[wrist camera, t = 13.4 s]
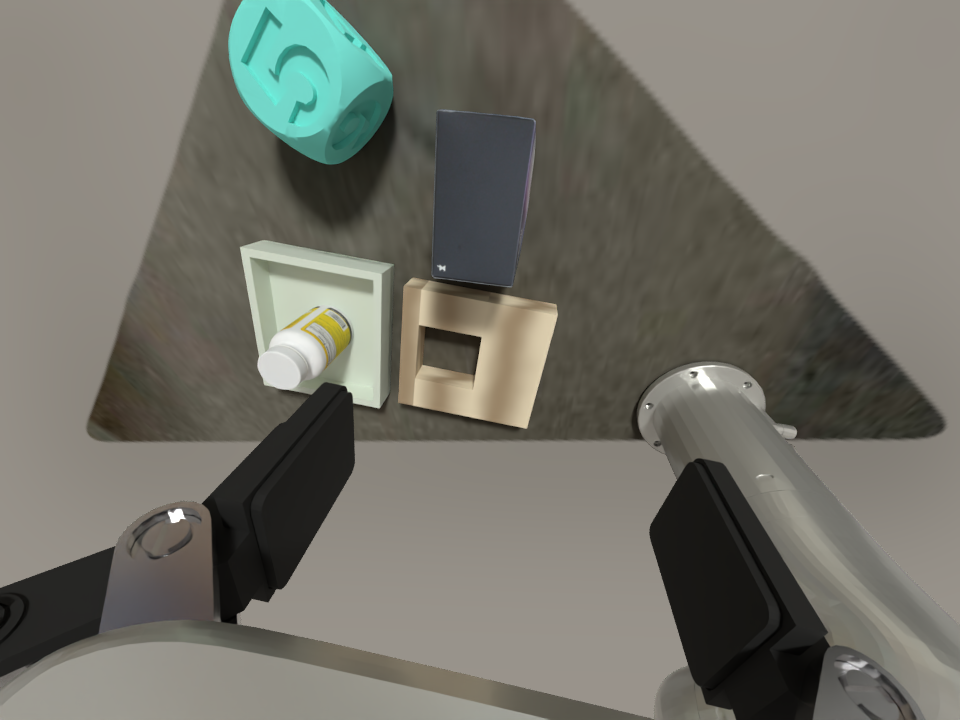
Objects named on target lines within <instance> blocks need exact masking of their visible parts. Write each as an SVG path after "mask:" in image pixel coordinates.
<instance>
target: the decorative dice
mask: <svg viewBox="0 0 960 720" xmlns="http://www.w3.org/2000/svg"><path fill="white" fill-rule="evenodd" d="M228 46H229V60H230V65H231V70H232V75H233V78H234V81H235V84H236V87H237V90H238V92H239V94H240V97H241V98H242V100H243V102H244V103H245V105H246V106H247V107H248V109H249V110H250V111H251V112H252V113H253V114H254V116H255V117H256V118H257V119H258V120H259V121H260V122H261V123H262V124H263V125H265V126H266V127H267V128H268V129H269V130H270V131H271V132H272V133H274V134H275V135H276V136H277V137H279V138H280V139H281V140H283V141H284V142H285V143H287V144H288V145H289V146H291V147H292V148H294V149H295V150H297V151H299V152H300V153H302V154H304V155H305V156H307V157H309V158H311V159H313V160H316V161H318V162H321V163H324V164H339V163H342V162H344V161H346V160H347V159H349V158H351V157H352V156H353V155H355V154H356V153H357V152H358V151H359V150H360V149H361V148H362V147H363V146H364V145H365V144H366V143H367V142H368V141H369V140H370V139H371V138H372V136H373V135H374V134H375V132H376V131H377V130H378V128H379V127H380V125H381V124H382V122H383V120H384V119H385V117H386V115H387V113H388V110H389V108H390V105H391V102H392V98H393V82H392V75H391V73H390V71H389V69H388V68H387V67H386V65H385V64H384V63H383V61H382V60H381V59H380V57H379V56H378V55H377V54H376V53H375V51H374V50H373V49H372V48H371V47H370V46H369V45H368V43H367V42H366V41H365V40H364V39H363V38H362V37H361V36H360V35H359V33H358V32H357V31H356V30H355V29H354V28H353V27H352V26H351V25H350V24H349V23H348V22H347V21H346V20H345V19H344V18H343V17H342V16H341V15H340V14H339V13H338V12H337V11H336V10H335V9H334V8H333V7H332V6H331V5H330V4H329V3H328V2H327V1H326V0H243V1H242V3H241V4H240V6H239V8H238V9H237V12H236V14H235V16H234V18H233V21H232V24H231V28H230V33H229V42H228Z"/></svg>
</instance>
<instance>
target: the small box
mask: <svg viewBox="0 0 960 720" xmlns="http://www.w3.org/2000/svg"><path fill="white" fill-rule="evenodd" d="M535 141H536V121H535V120H534V119H531V118H523V117H517V116H506V115H497V114H486V113H475V112H465V111H454V110H445V109H442V110H438V111H437V119H436V146H435V178H434V212H433V242H432V277H433V278H436V279H446V280H454V281H461V282H470V283H477V284H485V285H494V286H502V287H512V286H513V282H514V278H515V274H516V270H517V265H518V260H519V256H520V251H521V245H522V240H523V234H524V229H525V223H526V217H527V211H528V204H529V197H530V189H531V181H532V173H533V165H534V155H535Z"/></svg>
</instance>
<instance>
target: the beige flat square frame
mask: <svg viewBox="0 0 960 720" xmlns="http://www.w3.org/2000/svg"><path fill="white" fill-rule="evenodd" d="M557 316H558V314H557V307H556V304H551V303H546V302H540V301H535V300H530V299H524V298H519V297H514V296H508V295H503V294H498V293H492V292H487V291H482V290H477V289H471V288H466V287H461V286H455V285H450V284H445V283H439V282H434V281H429V280H423V279H418V278H412V279H411V280H410V281H409V282H408V283H406V284H405V285H404V289H403V311H402V333H401V355H400V377H399V399H398V403H403V404H408V405H413V406H418V407H423V408H428V409H433V410H437V411H442V412H447V413H452V414H457V415H462V416H467V417H472V418H477V419H482V420H486V421H491V422H496V423H501V424H506V425H511V426H516V427H521V428H526V429H527V426H528V422H529V418H530V415H531V411H532V408H533V404H534V400H535V397H536V393H537V389H538V386H539V382H540V378H541V375H542V371H543V367H544V364H545V360H546V356H547V353H548V349H549V345H550V342H551V338H552V334H553V331H554V327H555V324H556V320H557ZM426 326H427V327H432V328H437V329H442V330H448V331H453V332H458V333H463V334H468V335H473V336H479V337H482V339H481V345H480V351H479V357H478V363H477V369H476V375H470V374H465V373H460V372H455V371H450V370H445V369H440V368H435V367H430V366H425V365H422V364H423V351H424V339H425V327H426Z"/></svg>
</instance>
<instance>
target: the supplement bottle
mask: <svg viewBox="0 0 960 720" xmlns="http://www.w3.org/2000/svg"><path fill="white" fill-rule="evenodd" d="M352 338H353V327H352V324H351V321H350V320H349V318H348V317H347V316H346V315H345V314H344V313H343V312H342V311H341V310H339V309H338V308H336V307H333V306H329V305H319V306H316V307H314V308H312V309H311V310H309V311H308V312H306V313H305V314H304V315H302V316H301V317H299V318H298V319H296V320H295V321H294V322H292V323H291V324H289V325H288V326H286V327H285V328H283V329H282V330H281V331H279V332H278V333H277V334H275V335H274V337H273V338H272V339H271V341H270V344H269V349H268V350H267V351H266V352H264V353H263V354H262V355H261V356H260V357H259V359H258V370H259V372H260V374H261V376H262V377H263V378H264V380H265V381H267V382H268V383H269V384H270V385H272V386H274V387H276V388H279V389H283V390H290V389H293V388H295V387H297V386H298V385H299V384H300V383H301V382H302V381H304V380H310V379H313V378H315V377H317V376H318V375H320V374H321V373H322V372H323V371H324V370H325V369H326V368H327V367H328V366H329V365H330V364H331V363H332V362H333V360H334V359H335V358H336V357H337V356H338V355H339V354H340V353H341V352H342V351H343V350H344V349H345V348H346V347H347V346H348V345H349V344H350V342H351V340H352Z"/></svg>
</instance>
